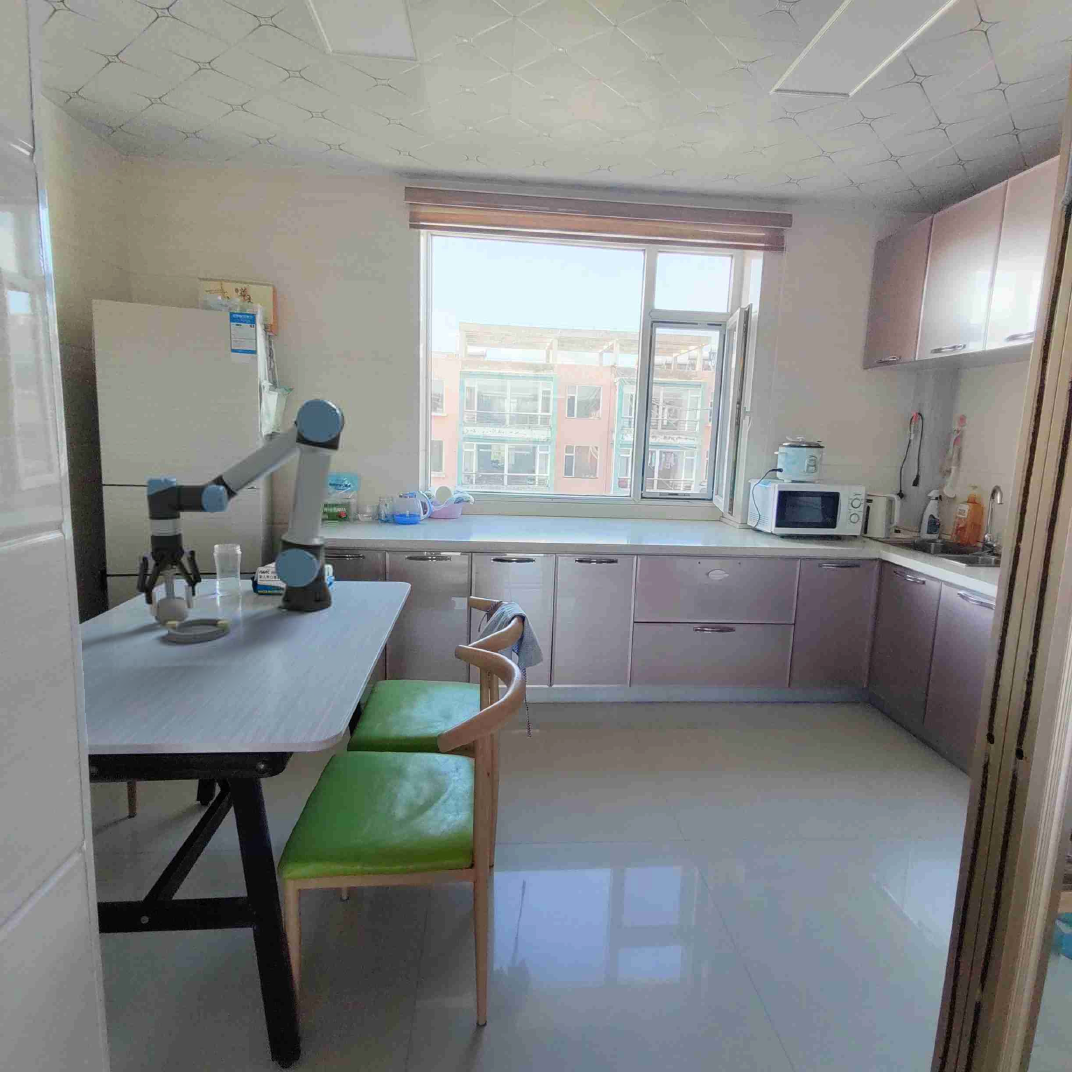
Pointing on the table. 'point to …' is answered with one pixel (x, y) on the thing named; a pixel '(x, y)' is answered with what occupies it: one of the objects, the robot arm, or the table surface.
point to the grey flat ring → (197, 630)
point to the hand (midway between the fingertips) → (172, 611)
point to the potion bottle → (170, 601)
